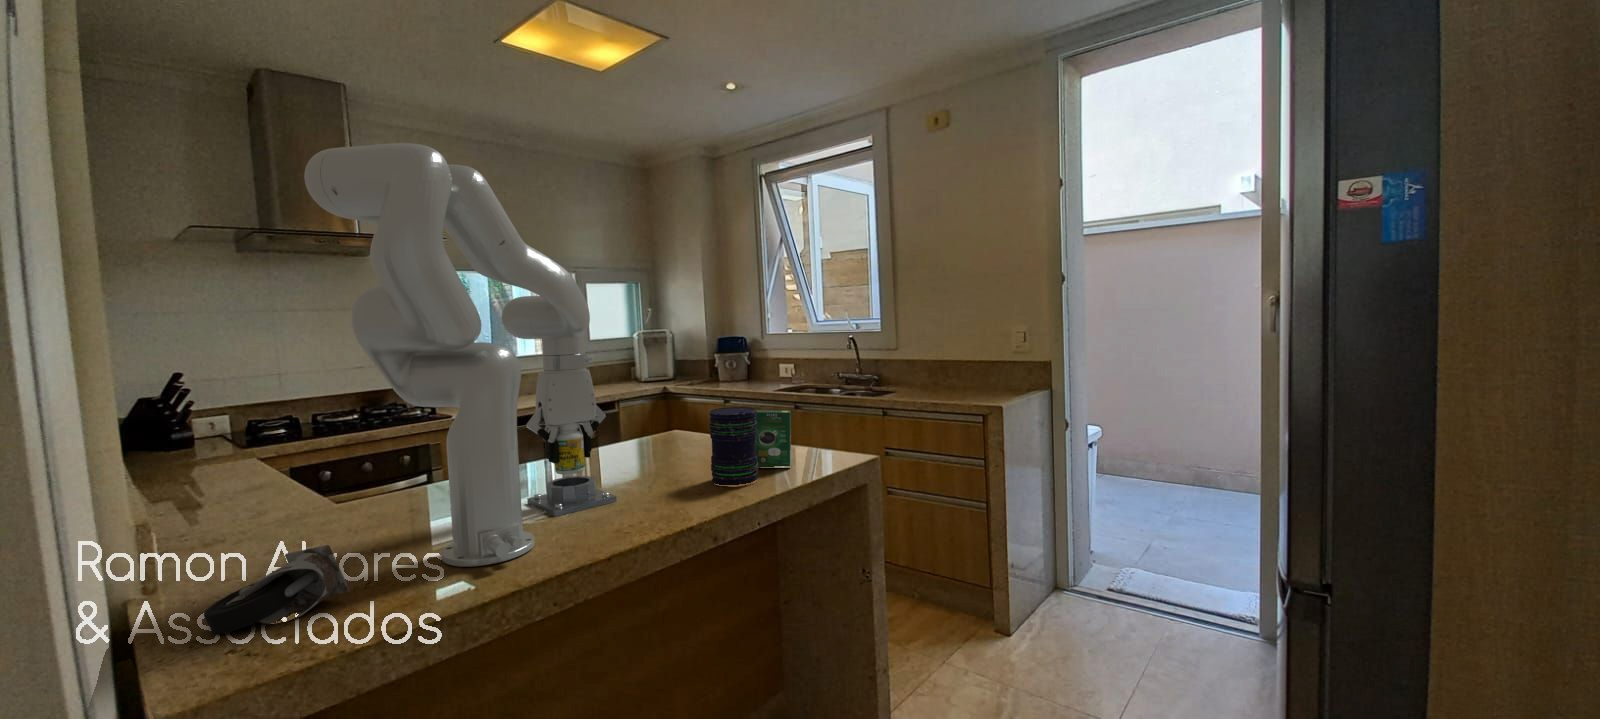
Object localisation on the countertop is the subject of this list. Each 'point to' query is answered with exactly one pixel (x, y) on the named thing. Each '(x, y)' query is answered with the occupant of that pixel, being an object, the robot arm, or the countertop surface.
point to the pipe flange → (570, 496)
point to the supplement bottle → (570, 449)
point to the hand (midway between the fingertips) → (569, 458)
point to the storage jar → (733, 445)
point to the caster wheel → (280, 592)
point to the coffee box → (773, 438)
